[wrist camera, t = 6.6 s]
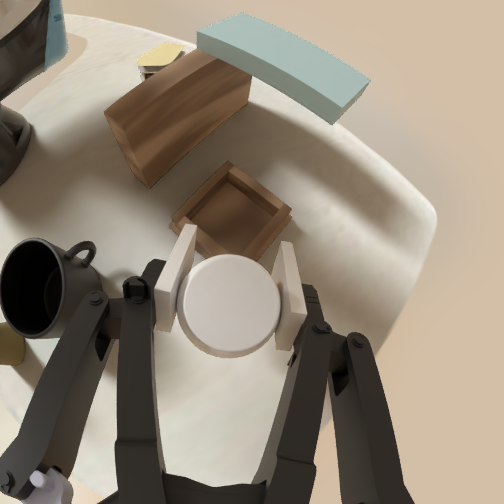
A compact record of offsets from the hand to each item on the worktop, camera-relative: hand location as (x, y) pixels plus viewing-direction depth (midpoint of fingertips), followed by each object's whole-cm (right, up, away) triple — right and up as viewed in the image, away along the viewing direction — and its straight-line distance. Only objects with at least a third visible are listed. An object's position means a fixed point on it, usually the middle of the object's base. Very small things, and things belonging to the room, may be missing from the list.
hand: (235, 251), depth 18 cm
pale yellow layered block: (-13, +28, +19) cm, 36 cm away
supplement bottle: (-1, -4, +3) cm, 5 cm away
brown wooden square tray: (-1, +3, +14) cm, 14 cm away
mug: (-19, -4, +10) cm, 22 cm away
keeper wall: (-7, +16, +16) cm, 23 cm away
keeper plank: (+4, +19, +5) cm, 20 cm away
